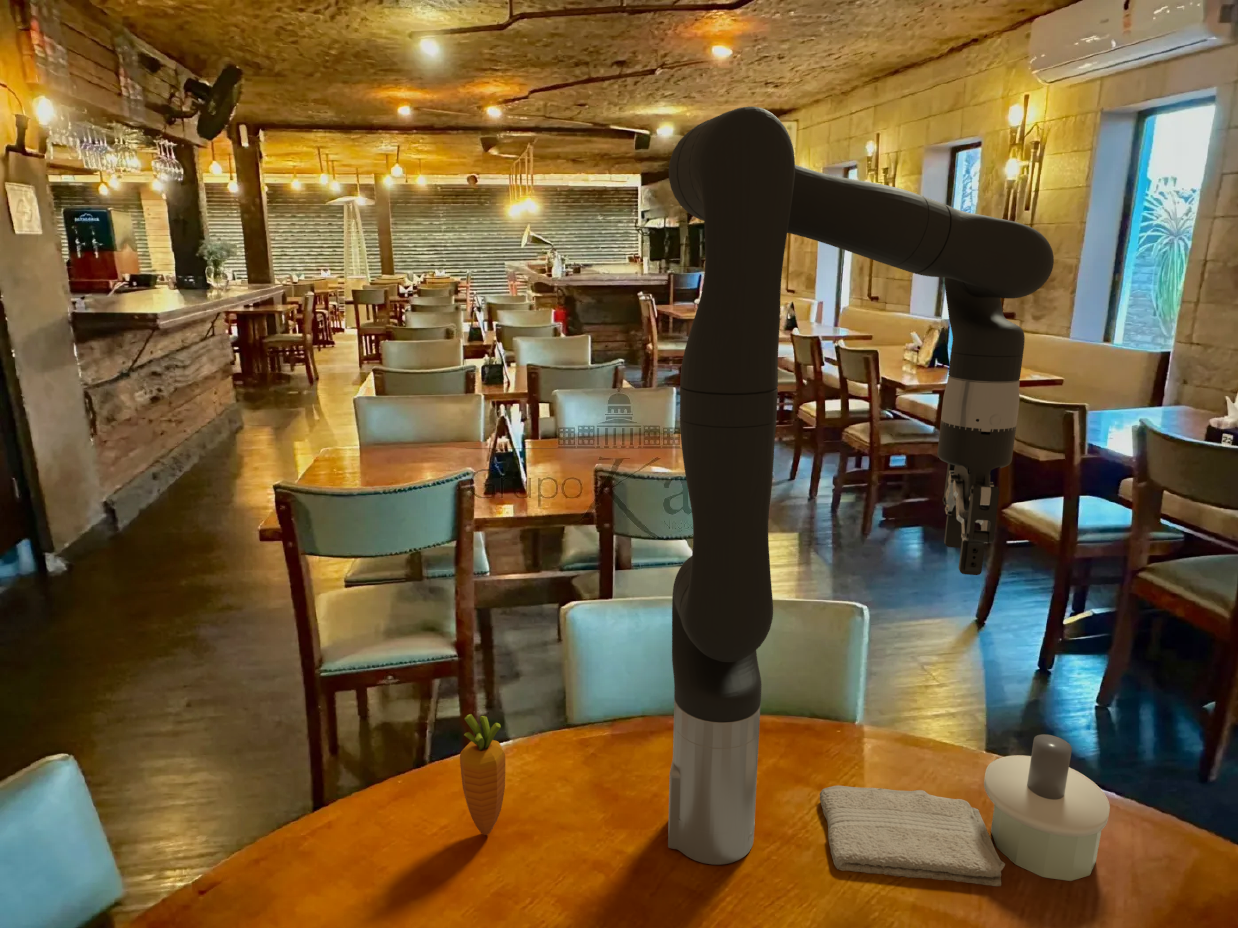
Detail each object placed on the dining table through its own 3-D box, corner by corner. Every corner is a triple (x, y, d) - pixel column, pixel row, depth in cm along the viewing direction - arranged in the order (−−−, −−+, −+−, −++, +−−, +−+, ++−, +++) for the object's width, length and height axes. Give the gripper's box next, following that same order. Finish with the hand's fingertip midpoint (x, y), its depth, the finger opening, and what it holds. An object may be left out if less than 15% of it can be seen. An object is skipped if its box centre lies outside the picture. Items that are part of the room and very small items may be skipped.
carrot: (517, 833, 89) (513, 715, 86) (481, 857, 86) (476, 735, 82) (489, 813, 93) (484, 698, 89) (454, 834, 89) (448, 716, 86)
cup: (1005, 871, 84) (1012, 823, 83) (983, 809, 94) (989, 765, 92) (1108, 886, 82) (1118, 837, 81) (1075, 821, 92) (1083, 776, 90)
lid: (998, 826, 82) (1006, 770, 80) (973, 758, 93) (980, 707, 92) (1126, 844, 80) (1137, 787, 78) (1085, 772, 91) (1094, 720, 89)
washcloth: (1009, 892, 82) (1013, 867, 81) (832, 876, 84) (834, 852, 83) (973, 815, 94) (976, 792, 93) (817, 803, 95) (819, 780, 95)
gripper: (930, 406, 93) (917, 536, 97) (954, 430, 80) (937, 580, 84) (999, 409, 92) (982, 541, 96) (1035, 434, 78) (1013, 586, 82)
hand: (961, 559), depth 90 cm, fingers open, 8 cm apart
